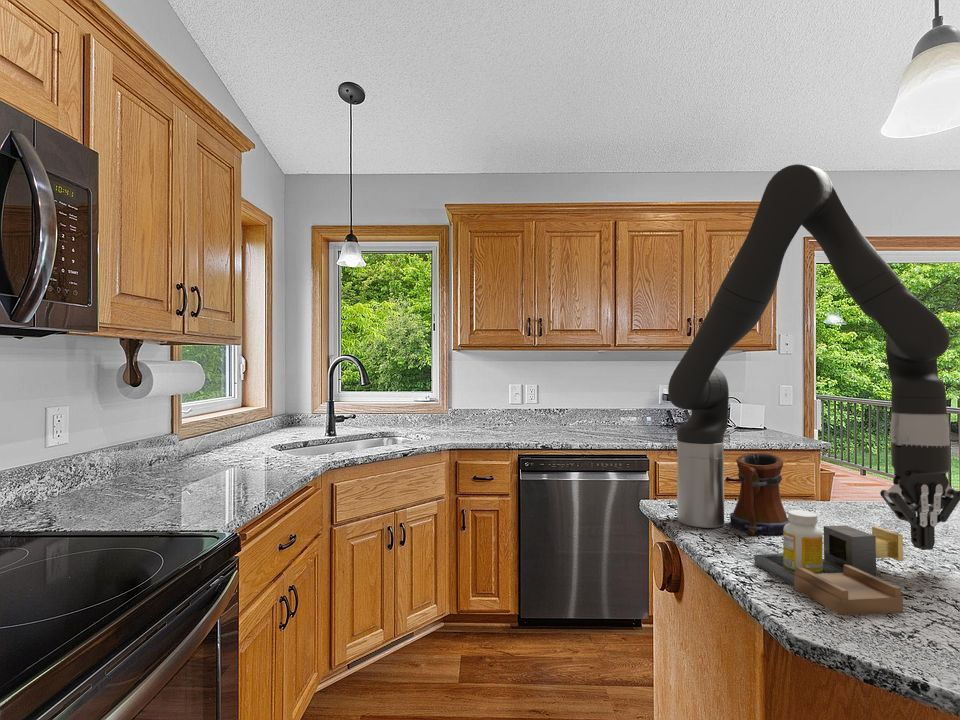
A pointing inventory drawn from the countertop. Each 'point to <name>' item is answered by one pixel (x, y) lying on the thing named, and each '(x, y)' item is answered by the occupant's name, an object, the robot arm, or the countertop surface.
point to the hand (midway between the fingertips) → (922, 548)
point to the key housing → (850, 548)
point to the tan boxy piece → (888, 544)
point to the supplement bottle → (802, 542)
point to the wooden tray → (849, 591)
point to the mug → (759, 495)
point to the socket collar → (773, 566)
